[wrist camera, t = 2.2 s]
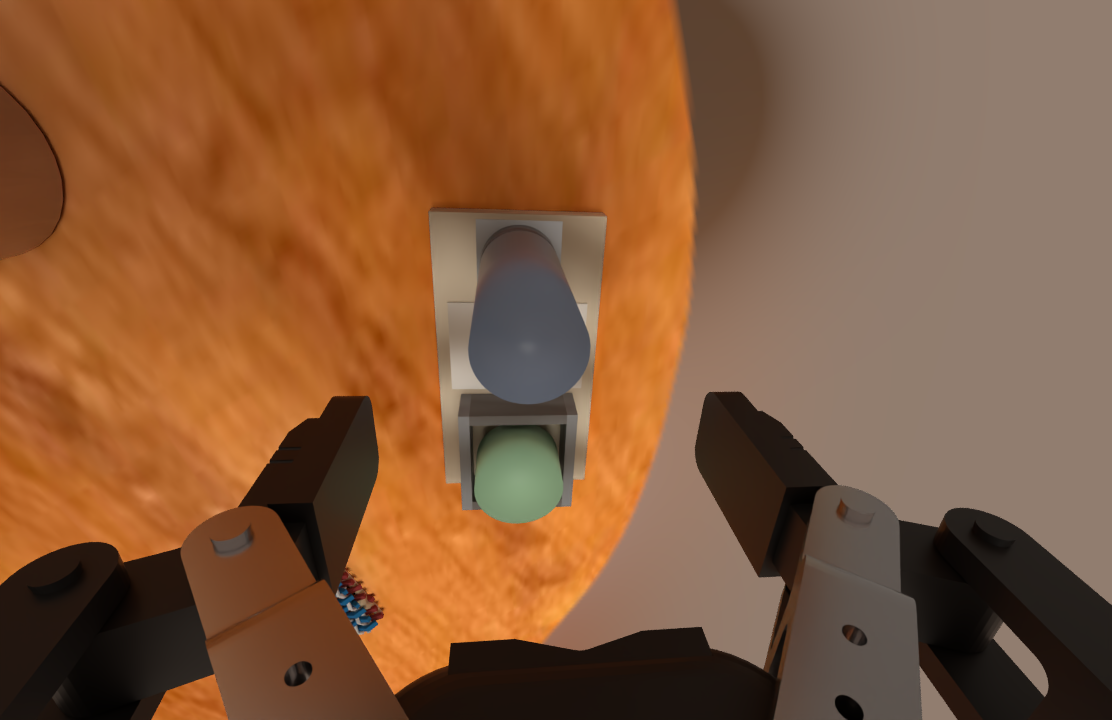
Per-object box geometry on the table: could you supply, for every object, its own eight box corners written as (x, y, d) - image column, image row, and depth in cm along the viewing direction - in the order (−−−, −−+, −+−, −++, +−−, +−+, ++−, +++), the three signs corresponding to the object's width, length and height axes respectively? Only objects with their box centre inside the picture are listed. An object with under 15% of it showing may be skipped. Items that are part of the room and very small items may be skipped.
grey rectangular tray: (581, 467, 34) (590, 505, 31) (447, 471, 33) (441, 510, 30) (602, 212, 27) (617, 226, 23) (431, 207, 26) (421, 220, 22)
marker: (523, 313, 27) (536, 423, 17) (464, 268, 26) (442, 360, 16) (572, 258, 26) (615, 343, 16) (513, 207, 25) (522, 266, 15)
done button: (555, 486, 31) (561, 521, 28) (477, 488, 30) (475, 525, 28) (559, 421, 29) (565, 452, 26) (475, 422, 28) (472, 454, 25)
